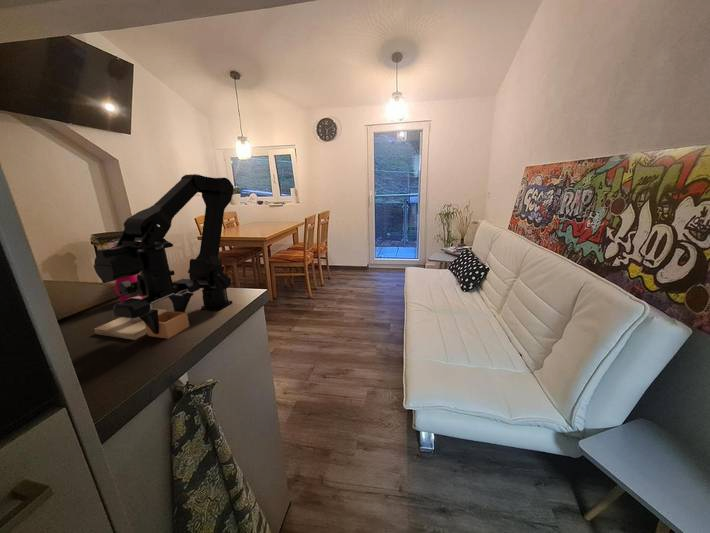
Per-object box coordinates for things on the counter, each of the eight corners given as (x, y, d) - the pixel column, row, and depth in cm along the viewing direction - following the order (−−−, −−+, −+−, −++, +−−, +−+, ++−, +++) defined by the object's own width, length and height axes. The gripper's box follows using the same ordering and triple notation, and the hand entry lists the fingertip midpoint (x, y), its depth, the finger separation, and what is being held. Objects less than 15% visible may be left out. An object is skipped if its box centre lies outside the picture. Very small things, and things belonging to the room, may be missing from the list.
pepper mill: (117, 306, 87) (99, 244, 82) (119, 299, 93) (102, 240, 87) (145, 300, 91) (130, 241, 86) (145, 294, 97) (131, 238, 91)
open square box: (170, 323, 75) (167, 310, 74) (189, 326, 73) (186, 312, 72) (147, 335, 69) (144, 321, 68) (168, 338, 67) (164, 323, 66)
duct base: (144, 312, 82) (138, 288, 80) (179, 316, 79) (174, 291, 77) (95, 333, 70) (87, 306, 68) (134, 339, 67) (126, 311, 65)
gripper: (163, 258, 77) (174, 309, 82) (85, 279, 60) (105, 342, 64) (196, 259, 74) (206, 312, 79) (124, 282, 57) (142, 348, 61)
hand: (168, 327), depth 71 cm, fingers closed on open square box, 6 cm apart
